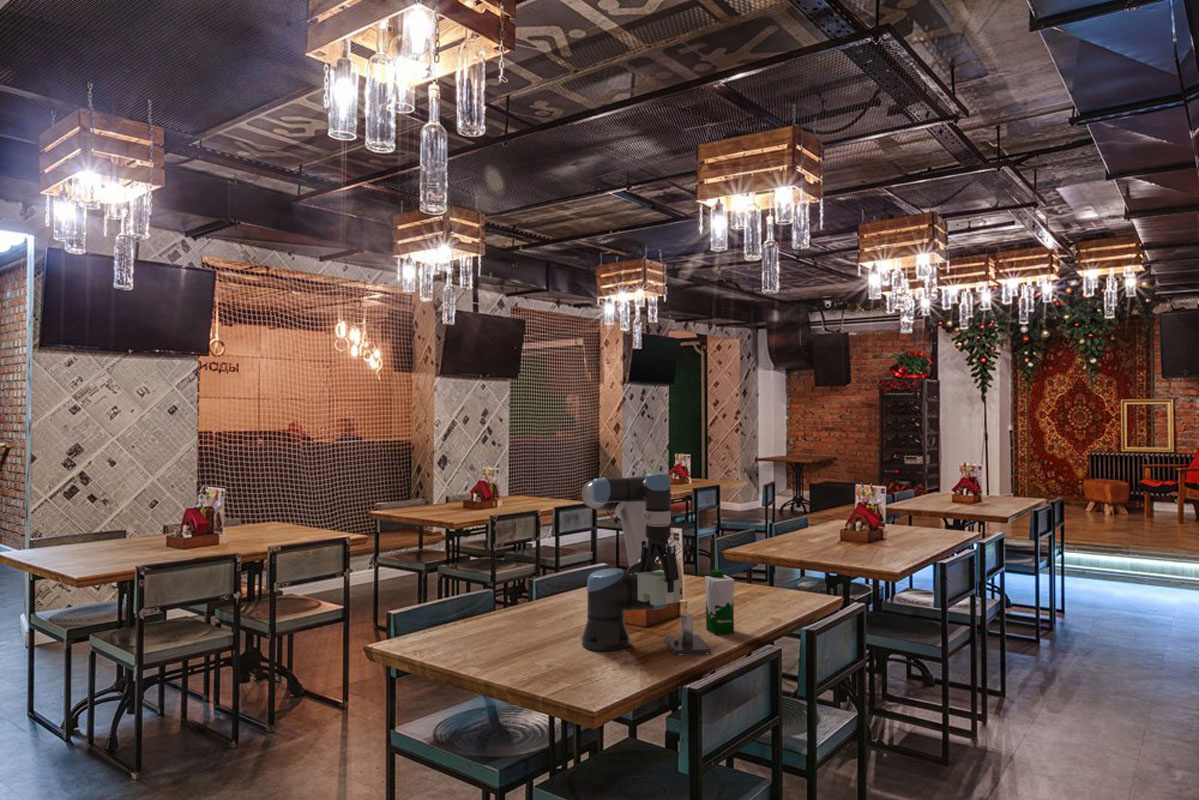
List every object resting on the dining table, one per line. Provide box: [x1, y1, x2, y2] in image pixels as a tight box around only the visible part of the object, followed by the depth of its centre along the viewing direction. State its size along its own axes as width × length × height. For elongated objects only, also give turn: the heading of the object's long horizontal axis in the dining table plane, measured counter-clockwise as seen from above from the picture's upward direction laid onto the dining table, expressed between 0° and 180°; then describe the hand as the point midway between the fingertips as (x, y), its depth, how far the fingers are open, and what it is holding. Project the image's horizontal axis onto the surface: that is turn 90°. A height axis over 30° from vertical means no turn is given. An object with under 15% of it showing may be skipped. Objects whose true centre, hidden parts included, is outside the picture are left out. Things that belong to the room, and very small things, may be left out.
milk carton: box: [704, 569, 736, 636], centre depth 263 cm, size 9×9×20 cm
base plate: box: [664, 613, 712, 656], centre depth 246 cm, size 11×16×10 cm
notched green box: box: [638, 569, 681, 606], centre depth 235 cm, size 9×9×8 cm
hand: (658, 599), depth 235 cm, fingers closed on notched green box, 9 cm apart
